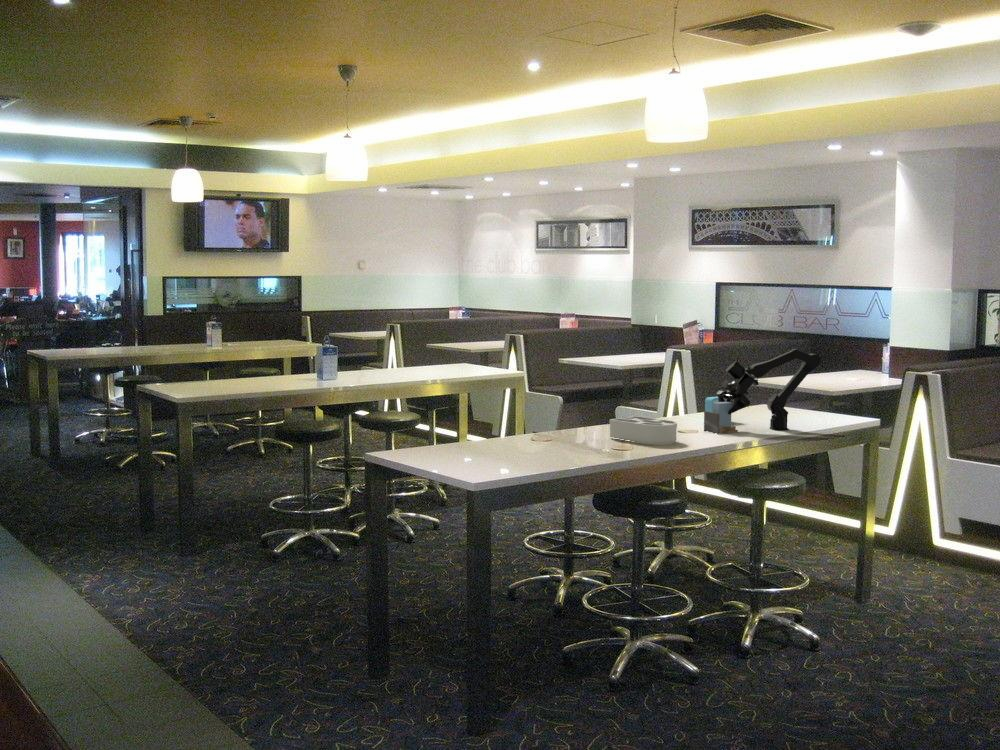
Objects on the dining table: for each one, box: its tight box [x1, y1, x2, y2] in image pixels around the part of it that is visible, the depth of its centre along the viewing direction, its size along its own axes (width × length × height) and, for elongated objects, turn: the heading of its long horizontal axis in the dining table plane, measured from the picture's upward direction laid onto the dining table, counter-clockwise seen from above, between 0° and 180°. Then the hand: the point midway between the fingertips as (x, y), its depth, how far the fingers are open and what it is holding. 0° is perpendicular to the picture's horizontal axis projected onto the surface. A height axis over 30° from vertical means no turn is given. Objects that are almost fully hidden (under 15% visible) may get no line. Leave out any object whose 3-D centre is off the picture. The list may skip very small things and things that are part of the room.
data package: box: [704, 395, 719, 412], centre depth 482 cm, size 12×4×12 cm, turn 125°
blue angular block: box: [713, 401, 733, 428], centre depth 452 cm, size 7×4×12 cm, turn 114°
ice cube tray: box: [609, 415, 678, 446], centre depth 430 cm, size 17×28×9 cm, turn 40°
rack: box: [703, 410, 739, 435], centre depth 452 cm, size 11×10×9 cm
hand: (722, 412), depth 452 cm, fingers open, 9 cm apart
